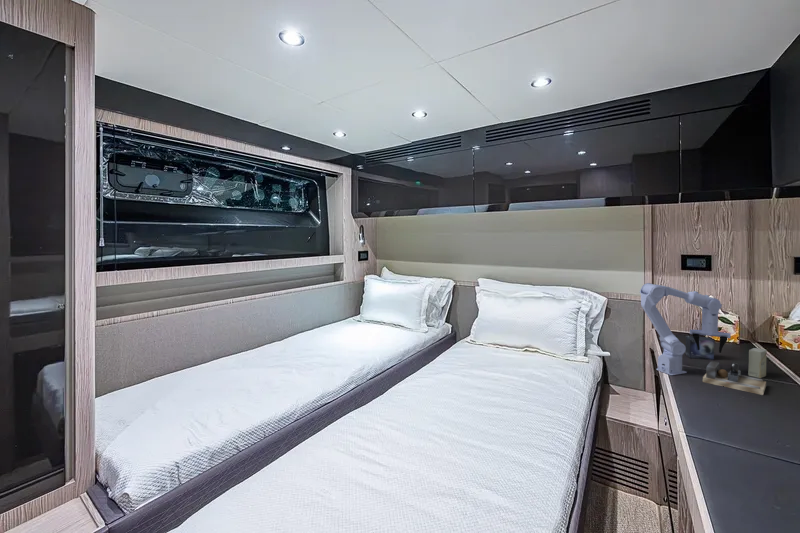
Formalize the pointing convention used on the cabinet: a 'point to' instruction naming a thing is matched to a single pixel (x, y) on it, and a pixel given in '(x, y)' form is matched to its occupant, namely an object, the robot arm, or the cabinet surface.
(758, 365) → the skincare box
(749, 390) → the press
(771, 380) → the cabinet surface
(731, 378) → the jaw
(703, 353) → the small box
